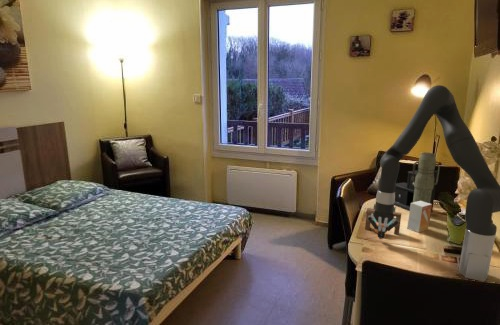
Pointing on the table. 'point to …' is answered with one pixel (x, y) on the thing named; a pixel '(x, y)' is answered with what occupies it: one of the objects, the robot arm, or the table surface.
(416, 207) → the small box
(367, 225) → the bridge
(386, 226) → the ball
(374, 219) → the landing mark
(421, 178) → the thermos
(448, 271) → the table surface
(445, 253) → the table surface
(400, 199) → the black drawer cabinet
